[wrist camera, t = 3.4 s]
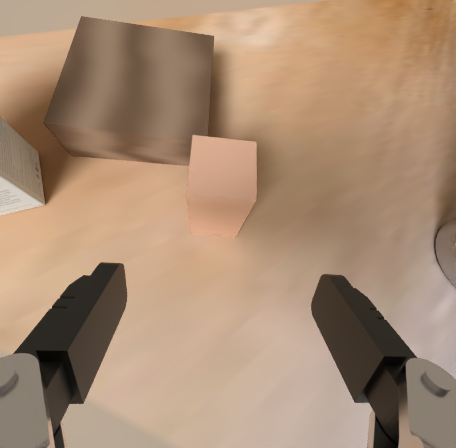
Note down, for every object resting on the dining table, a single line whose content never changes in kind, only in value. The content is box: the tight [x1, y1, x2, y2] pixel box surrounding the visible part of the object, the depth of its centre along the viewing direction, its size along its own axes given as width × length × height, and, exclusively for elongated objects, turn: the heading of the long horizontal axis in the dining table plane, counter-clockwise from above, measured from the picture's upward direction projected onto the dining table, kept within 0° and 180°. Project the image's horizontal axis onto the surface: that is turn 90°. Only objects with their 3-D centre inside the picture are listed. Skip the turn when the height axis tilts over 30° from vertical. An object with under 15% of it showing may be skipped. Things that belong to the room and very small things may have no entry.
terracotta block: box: [187, 135, 257, 237], centre depth 20 cm, size 4×4×9 cm
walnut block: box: [44, 17, 214, 166], centre depth 25 cm, size 14×14×5 cm
